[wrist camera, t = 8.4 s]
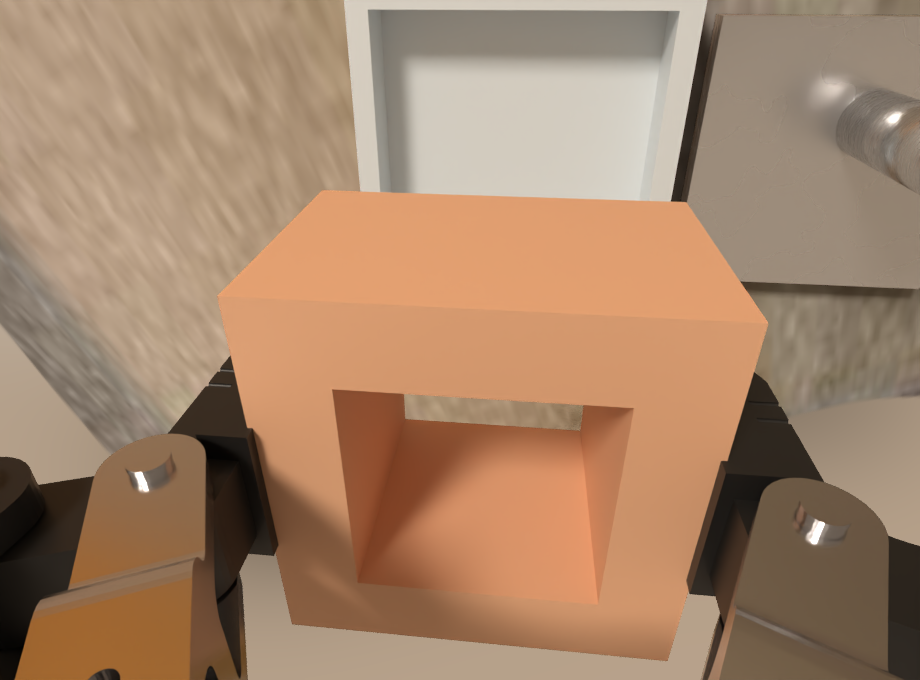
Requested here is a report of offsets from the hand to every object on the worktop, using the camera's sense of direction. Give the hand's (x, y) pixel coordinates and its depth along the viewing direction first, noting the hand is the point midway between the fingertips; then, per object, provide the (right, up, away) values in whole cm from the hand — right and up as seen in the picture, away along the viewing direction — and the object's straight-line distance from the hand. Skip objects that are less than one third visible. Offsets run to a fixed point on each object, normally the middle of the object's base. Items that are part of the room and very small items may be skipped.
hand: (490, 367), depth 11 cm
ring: (0, 0, +1) cm, 1 cm away
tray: (+2, +8, +14) cm, 16 cm away
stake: (+14, +8, +13) cm, 20 cm away
